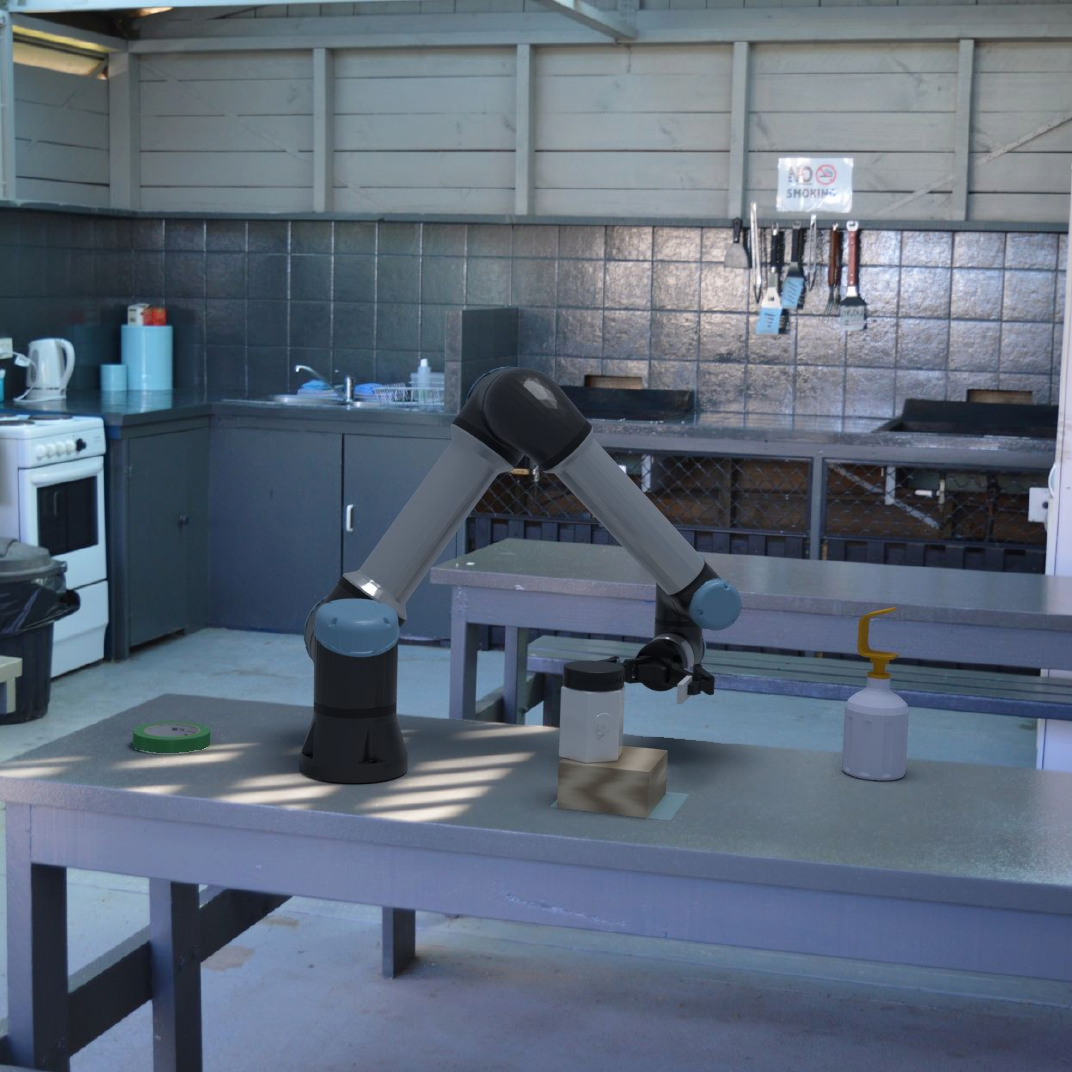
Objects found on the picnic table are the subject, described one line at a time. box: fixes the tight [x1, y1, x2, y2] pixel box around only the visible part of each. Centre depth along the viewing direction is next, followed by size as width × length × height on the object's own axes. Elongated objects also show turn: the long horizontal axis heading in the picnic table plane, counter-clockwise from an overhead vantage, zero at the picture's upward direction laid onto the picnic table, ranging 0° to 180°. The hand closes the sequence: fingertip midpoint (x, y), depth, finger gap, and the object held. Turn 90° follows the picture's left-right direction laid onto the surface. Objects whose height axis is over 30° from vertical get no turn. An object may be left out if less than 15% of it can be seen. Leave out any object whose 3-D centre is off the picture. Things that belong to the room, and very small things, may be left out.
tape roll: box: [132, 721, 211, 753], centre depth 219 cm, size 11×11×3 cm
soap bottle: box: [841, 606, 910, 782], centre depth 215 cm, size 9×9×25 cm
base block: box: [556, 745, 669, 819], centre depth 196 cm, size 12×12×6 cm
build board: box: [549, 791, 690, 822], centre depth 197 cm, size 16×13×1 cm
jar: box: [558, 660, 626, 763], centre depth 195 cm, size 9×8×12 cm
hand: (630, 689), depth 203 cm, fingers open, 13 cm apart
